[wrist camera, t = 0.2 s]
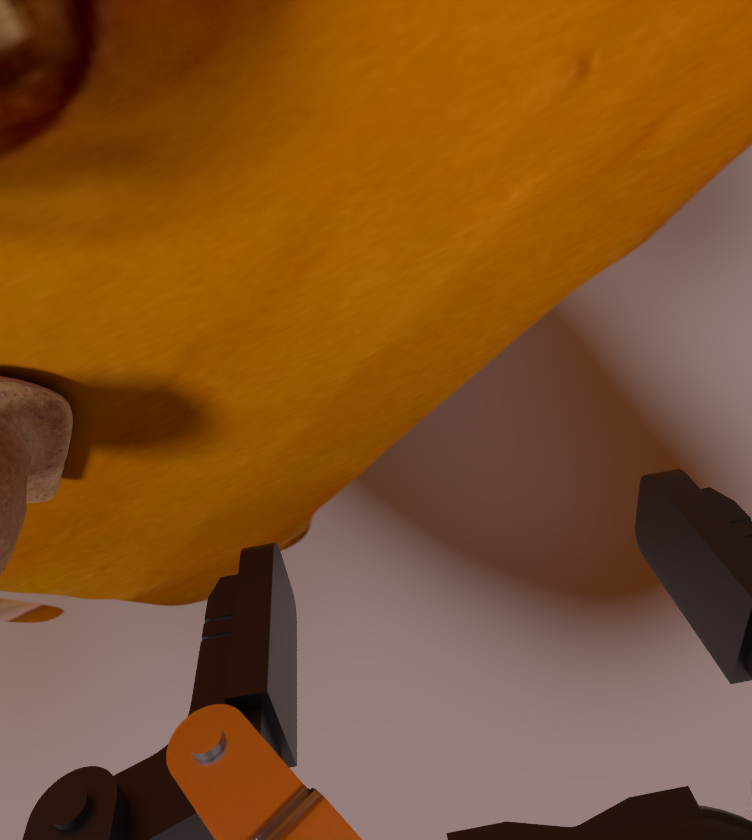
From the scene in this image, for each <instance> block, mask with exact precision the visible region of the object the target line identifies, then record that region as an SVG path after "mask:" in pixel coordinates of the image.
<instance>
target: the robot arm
mask: <svg viewBox="0 0 752 840" xmlns="http://www.w3.org/2000/svg"><path fill="white" fill-rule="evenodd" d="M635 534H636V540H637V543H638V546H639V549H640V551H641V553H642V555H643V556H644V558H645V559H646V561H647V562H648V564H649V565H650V567H651V568H652V570H653V571H654V573H655V574H656V576H657V577H658V578H659V580H660V581H661V583H662V584H663V586H664V587H665V589H666V590H667V592H668V593H669V595H670V596H671V597H672V599H673V600H674V602H675V603H676V605H677V606H678V607H679V609H680V611H681V612H682V613H683V615H684V616H685V618H686V619H687V621H688V622H689V624H690V625H691V626H692V628H693V630H694V631H695V632H696V634H697V635H698V637H699V638H700V639H701V641H702V643H703V644H704V646H705V647H706V649H707V650H708V651H709V653H710V654H711V656H712V657H713V659H714V660H715V662H716V663H717V665H718V666H719V667H720V669H721V670H722V672H723V673H724V675H725V676H726V678H727V679H728V681H729V682H730V684H734V683H739V682H744V681H750V680H752V521H751V518H750V517H749V516H748V515H747V514H746V513H745V512H744V511H743V510H742V509H741V508H740V507H739V505H737V503H736V502H735V501H733V500H732V499H730V498H728V497H726V496H724V495H723V494H721V493H719V492H717V491H715V490H714V489H712V488H710V487H709V488H704V489H700V488H699V487H698V486H697V485H696V484H695V483H694V482H693V481H692V480H691V478H690V477H689V476H688V475H687V474H686V473H685V472H684V471H682V470H680V469H674V470H669V471H663V472H658V473H653V474H647V475H644V476H643V477H642V478H641V480H640V487H639V495H638V505H637V514H636V523H635ZM294 766H297V617H296V606H295V600H294V595H293V591H292V587H291V584H290V581H289V578H288V575H287V571H286V568H285V565H284V562H283V559H282V555H281V552H280V549H279V546H278V544H277V543H276V542H275V543H270V544H265V545H259V546H254V547H248V548H243V549H242V550H241V555H240V563H239V572H238V574H237V575H232V576H226V577H221V578H220V580H219V581H218V583H217V584H216V586H215V588H214V589H213V591H212V593H211V594H210V596H209V597H208V602H207V608H206V614H205V624H204V627H203V633H202V642H201V646H200V651H199V658H198V664H197V670H196V677H195V683H194V689H193V695H192V701H191V707H190V711H189V714H188V717H187V718H186V719H185V720H184V721H183V722H182V723H181V724H180V725H179V726H178V727H177V729H176V730H175V732H174V733H173V735H172V737H171V739H170V741H169V744H168V745H167V746H166V747H164V748H163V749H162V750H160V751H159V752H158V753H156V754H154V755H153V756H151V757H149V758H147V759H145V760H143V761H141V762H139V763H137V764H135V765H134V766H132V767H130V768H128V769H126V770H124V771H122V772H120V773H118V774H116V775H114V776H112V774H111V773H110V772H109V771H108V770H106V769H104V768H101V767H97V766H89V767H83V768H80V769H77V770H74V771H72V772H70V773H68V774H66V775H65V776H63V777H62V778H60V779H59V780H57V782H55V783H54V784H53V785H52V786H51V787H50V788H48V790H47V791H46V792H45V793H44V794H43V795H42V796H41V798H40V799H39V801H38V802H37V804H36V805H35V807H34V809H33V811H32V813H31V815H30V817H29V820H28V823H27V826H26V830H25V833H24V837H23V840H362V839H361V838H360V837H359V836H358V835H357V833H356V832H355V831H354V830H353V829H352V828H351V827H350V826H349V824H348V823H347V822H346V821H345V820H344V819H343V818H342V816H341V815H340V814H339V813H338V812H337V811H336V810H335V808H334V807H333V806H332V805H331V804H330V803H329V802H328V801H327V800H326V798H324V797H323V795H321V794H320V793H319V792H318V791H317V790H316V789H313V788H312V789H311V790H310V789H308V788H307V787H306V786H305V785H304V784H303V783H302V782H301V781H300V780H299V779H298V778H297V776H296V775H295V774H294V773H293V772H292V771H291V770H290V768H289V767H294ZM447 838H448V840H752V780H751V788H750V795H749V800H748V804H747V809H746V814H745V818H743V817H741V816H739V815H736V814H733V813H730V812H727V811H724V810H720V809H716V808H711V807H707V806H699V805H698V804H697V802H696V800H695V798H694V796H693V794H692V792H691V791H690V789H689V787H688V786H686V787H680V788H675V789H670V790H665V791H660V792H655V793H650V794H645V795H640V796H635V797H629V798H628V799H626V800H624V801H622V802H620V803H618V804H617V805H615V806H613V807H611V808H609V809H608V810H606V811H604V812H602V813H601V814H598V815H597V816H595V817H593V818H591V819H589V820H588V821H586V822H584V823H582V824H581V825H578V826H575V827H560V826H548V825H538V824H527V823H516V822H503V823H498V824H492V825H487V826H482V827H477V828H472V829H467V830H461V831H456V832H451V833H447Z"/></svg>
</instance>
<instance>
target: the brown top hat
mask: <svg viewBox="0 0 752 840" xmlns="http://www.w3.org/2000/svg"><path fill="white" fill-rule="evenodd" d="M72 427H73V416H72V410H71V407H70V404H69V403H68V402H67V400H66V399H65V398H64V397H63V396H61V395H60V394H58V393H56V392H54V391H53V390H50V389H48V388H45V387H43V386H40V385H37V384H34V383H30V382H27V381H23V380H20V379H15V378H10V377H4V376H0V574H1V573H2V572H3V570H4V569H5V567H6V565H7V563H8V560H9V558H10V556H11V554H12V552H13V549H14V547H15V544H16V542H17V539H18V536H19V533H20V530H21V527H22V524H23V522H24V518H25V514H26V503H37V502H43V501H47V500H50V499H51V498H52V497H53V496H54V495H55V493H56V491H57V488H58V485H59V483H60V480H61V477H62V473H63V469H64V464H65V460H66V457H67V453H68V449H69V444H70V439H71V433H72Z"/></svg>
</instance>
